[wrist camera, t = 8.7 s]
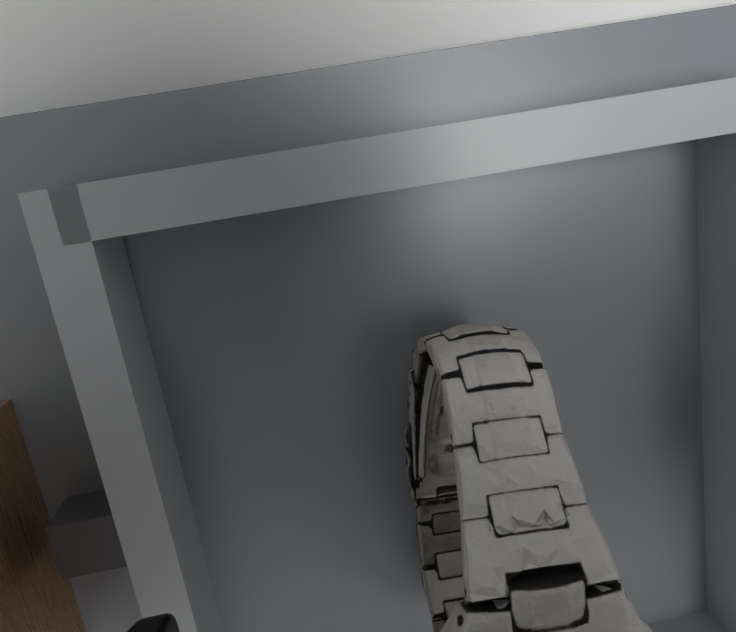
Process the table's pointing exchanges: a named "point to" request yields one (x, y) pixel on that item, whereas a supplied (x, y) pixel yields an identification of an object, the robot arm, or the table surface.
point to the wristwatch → (502, 494)
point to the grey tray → (363, 324)
